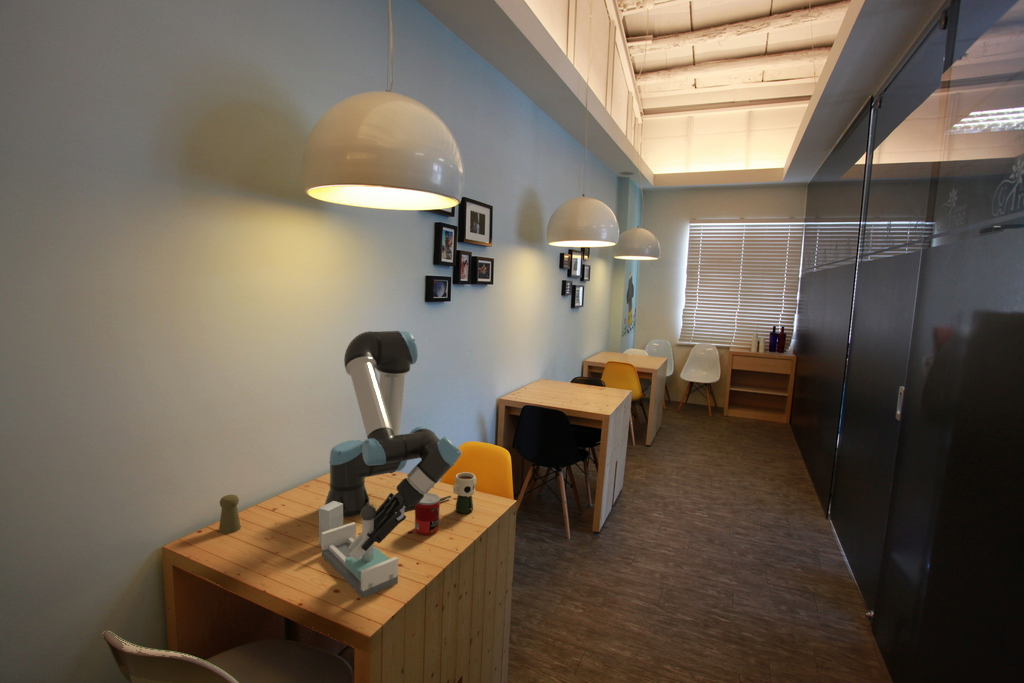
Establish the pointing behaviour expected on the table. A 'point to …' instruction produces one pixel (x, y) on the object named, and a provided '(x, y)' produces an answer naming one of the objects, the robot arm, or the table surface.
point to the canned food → (427, 514)
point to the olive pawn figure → (229, 515)
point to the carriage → (372, 554)
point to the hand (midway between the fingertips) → (352, 553)
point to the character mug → (464, 491)
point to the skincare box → (330, 517)
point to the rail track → (371, 578)
